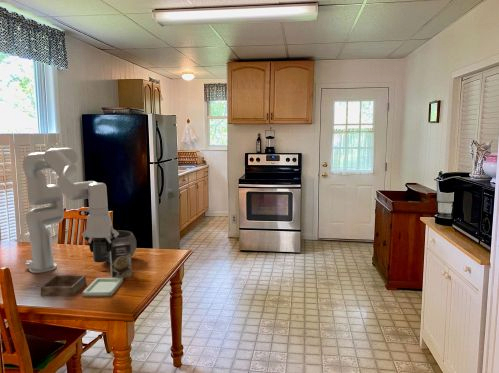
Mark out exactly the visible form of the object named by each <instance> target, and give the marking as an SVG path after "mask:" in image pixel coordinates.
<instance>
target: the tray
mask: <svg viewBox="0 0 499 373" xmlns="http://www.w3.org/2000/svg"><path fill="white" fill-rule="evenodd" d="M123 282H124V278H112V277H96V278H95V279H94V280H93V281H92V282H91V283H90V284H89V285H88V286H87V287H86V288H85V289H84V290H83V291H82V293H81V294H82V297H112V295H113V294H114V293H115V292H116V290H118V288H119V287H120V286H121V284H122V283H123Z"/></svg>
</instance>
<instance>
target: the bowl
mask: <svg viewBox="0 0 499 373" xmlns="http://www.w3.org/2000/svg"><path fill="white" fill-rule="evenodd" d="M116 231H117V232H118V233H119V235H118V236H117V237H116V238H115V239H114V240H113V241H112V243H119V242H127V241H128V242H129V243H130V247H131V258H132V257H133V256H134V254H135V252H136V251H137V244H138V243H137V239H136V237H135V234H133V232H132V231H129V230H116ZM111 236H112V237H113V236H114V234H112V235H111ZM106 262H108V263H110V259H109V260H108V261H106Z"/></svg>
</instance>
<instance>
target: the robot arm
mask: <svg viewBox="0 0 499 373" xmlns="http://www.w3.org/2000/svg"><path fill="white" fill-rule="evenodd" d="M78 160H79V156H78V153H77V152H76V150H75V149H73V148H72V147H58V148H57V147H54V148H49V149H48V150H45V152H31V153H28V154H26V155H24V157H23V159H22V165H21V166H22V168H23V169H22V170H23V171H24V172H23V173H24V175H25V178H26V191H27V199H28V203H29V204H30V205H31V206H35V208H32V209H29V210H28V211H26V214H25V222H26V224H27V228H28V234H29V241H30V242H29V244H30V253H31V254H30V255H31V260H25V261H24V262H25V263H24V266H29V272H30V273H33V274H40V273H41V274H42V273H43V274H44V273H48V272H50V271H53V270H55V269H57V268H58V263H56V262H54V252H53V250H54V249H53V242H52V241H53V240H52V233H51V232H50V230H49V229H48V228H47V226H50V225H54V224H59V223H61V222H62V221H63V220H64V217H65V210H64V209H65V208H64V196H65V197H66V198H67V199H69V200H70V201H81V200H85V199H88V208H86V211H85V212H87V213H88V215H87V218H86V229H85V230H84V231H83V232H82V233H81V236H82V237H83V238H84V240H85V241H87V243H88V244H89V246H88V247H89V250H90V253H93V246H92V242H93V241H94V240H95V239H94V238H106V239H107V240H108V244H107V246H108V252H110V251H111V250H112V249H113V243H112V241H113V240H114V239H115V238H116V237H117V236H118V235H119V233H118V232H117V231H118V230H116V229H114V227H113V222H112V218H111V213H109V207H108V206H109V205H108V189H107V185H106V183H104V182H97V181H95V180H88V181H87V180H86V181H80V182H79V181H78V182H71V179H73V178H74V177H75V176H76V174H77V172H78V166H77V165H76V163H77V162H78ZM49 170H50V171H51V170H53V171H54V172H55V174H57V175H58V177H57V184H54V183H53V184H47V177H46V174H45V173H44V172H43V171H49ZM44 205H47V206H44ZM36 206H40V207H36ZM112 234H114V236H113V237H112V236H111V235H112Z"/></svg>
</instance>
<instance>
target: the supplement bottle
mask: <svg viewBox="0 0 499 373" xmlns="http://www.w3.org/2000/svg"><path fill="white" fill-rule="evenodd" d="M107 244H108V240H107V239H106V238H94V240H93V242H92V246H93V252H92V257H93V262H95V263H105V262H106V261H108V260H109V259H110V252H108V246H107Z"/></svg>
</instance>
